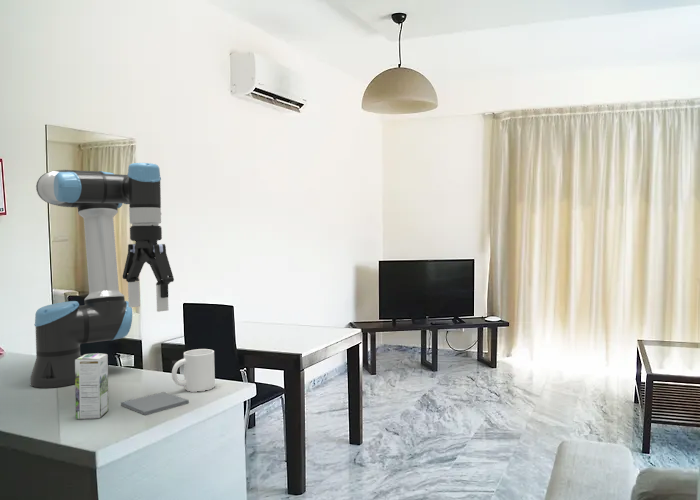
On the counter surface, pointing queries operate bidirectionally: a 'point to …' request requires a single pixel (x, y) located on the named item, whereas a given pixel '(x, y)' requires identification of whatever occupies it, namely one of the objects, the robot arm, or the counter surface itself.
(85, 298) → the robot arm
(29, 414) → the counter surface
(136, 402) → the coaster
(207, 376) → the mug
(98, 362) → the syrup box
